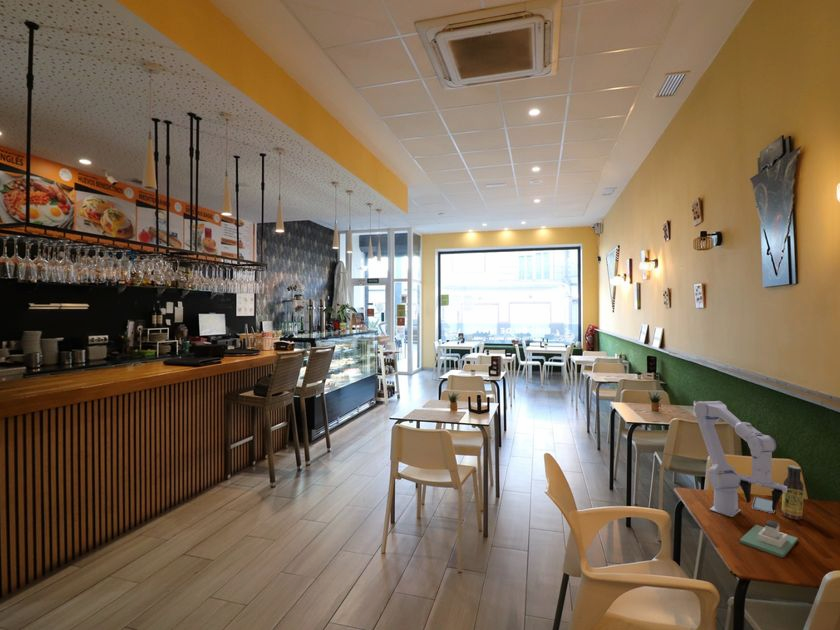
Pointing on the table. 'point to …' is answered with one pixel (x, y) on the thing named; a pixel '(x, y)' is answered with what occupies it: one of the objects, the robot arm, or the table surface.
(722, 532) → the table surface
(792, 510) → the sauce bottle
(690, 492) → the table surface
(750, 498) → the robot arm
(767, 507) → the smartphone
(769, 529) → the plug
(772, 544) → the socket board
